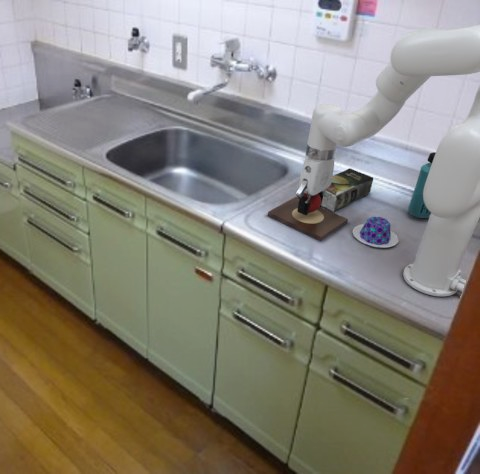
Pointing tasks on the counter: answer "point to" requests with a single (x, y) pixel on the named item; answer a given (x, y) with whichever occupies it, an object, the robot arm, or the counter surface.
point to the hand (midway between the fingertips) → (309, 208)
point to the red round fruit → (314, 202)
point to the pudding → (376, 233)
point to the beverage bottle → (421, 192)
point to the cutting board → (308, 219)
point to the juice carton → (346, 189)
